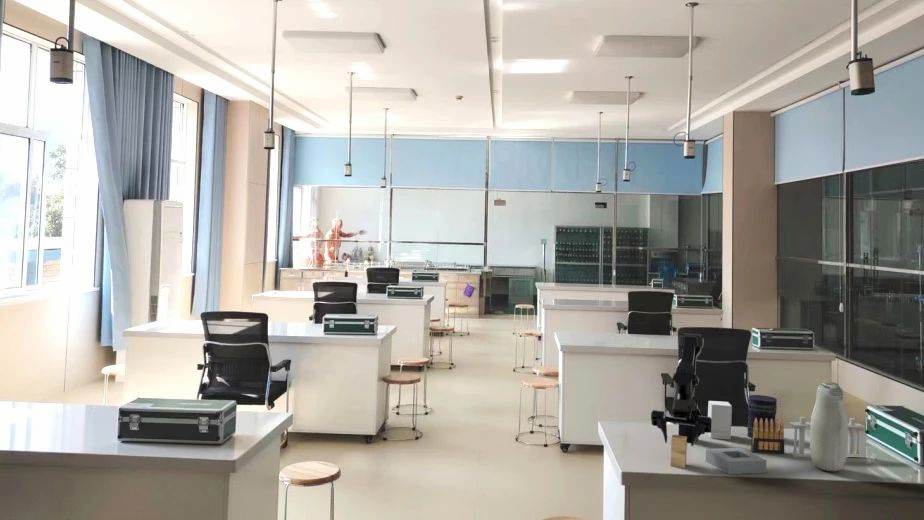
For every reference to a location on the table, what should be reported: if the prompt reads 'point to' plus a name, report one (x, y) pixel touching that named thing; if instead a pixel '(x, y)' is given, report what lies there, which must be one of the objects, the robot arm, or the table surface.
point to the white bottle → (829, 428)
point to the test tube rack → (803, 424)
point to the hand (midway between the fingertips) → (678, 444)
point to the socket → (736, 460)
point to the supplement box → (720, 419)
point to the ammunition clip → (768, 437)
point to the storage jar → (761, 411)
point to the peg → (678, 451)
